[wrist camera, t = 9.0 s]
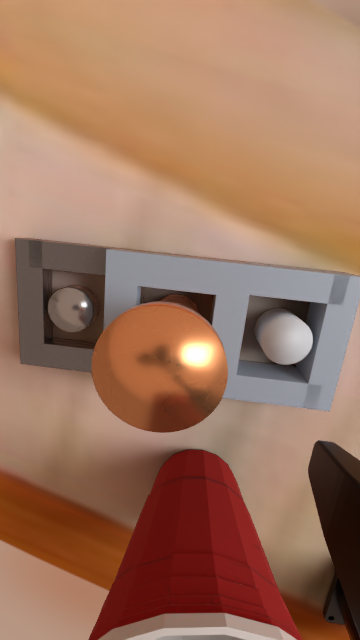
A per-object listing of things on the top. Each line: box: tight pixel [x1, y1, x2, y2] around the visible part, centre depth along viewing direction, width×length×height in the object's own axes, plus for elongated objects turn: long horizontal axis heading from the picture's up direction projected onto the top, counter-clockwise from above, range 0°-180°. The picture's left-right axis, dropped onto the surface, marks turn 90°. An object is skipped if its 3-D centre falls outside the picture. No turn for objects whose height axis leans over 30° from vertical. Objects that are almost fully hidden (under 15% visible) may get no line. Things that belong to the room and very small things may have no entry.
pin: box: [92, 294, 228, 433], centre depth 15 cm, size 5×5×8 cm
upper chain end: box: [104, 249, 360, 411], centre depth 18 cm, size 8×14×2 cm, turn 84°
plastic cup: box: [89, 450, 303, 640], centre depth 17 cm, size 11×11×12 cm
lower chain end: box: [15, 238, 251, 372], centre depth 19 cm, size 8×14×1 cm, turn 84°
